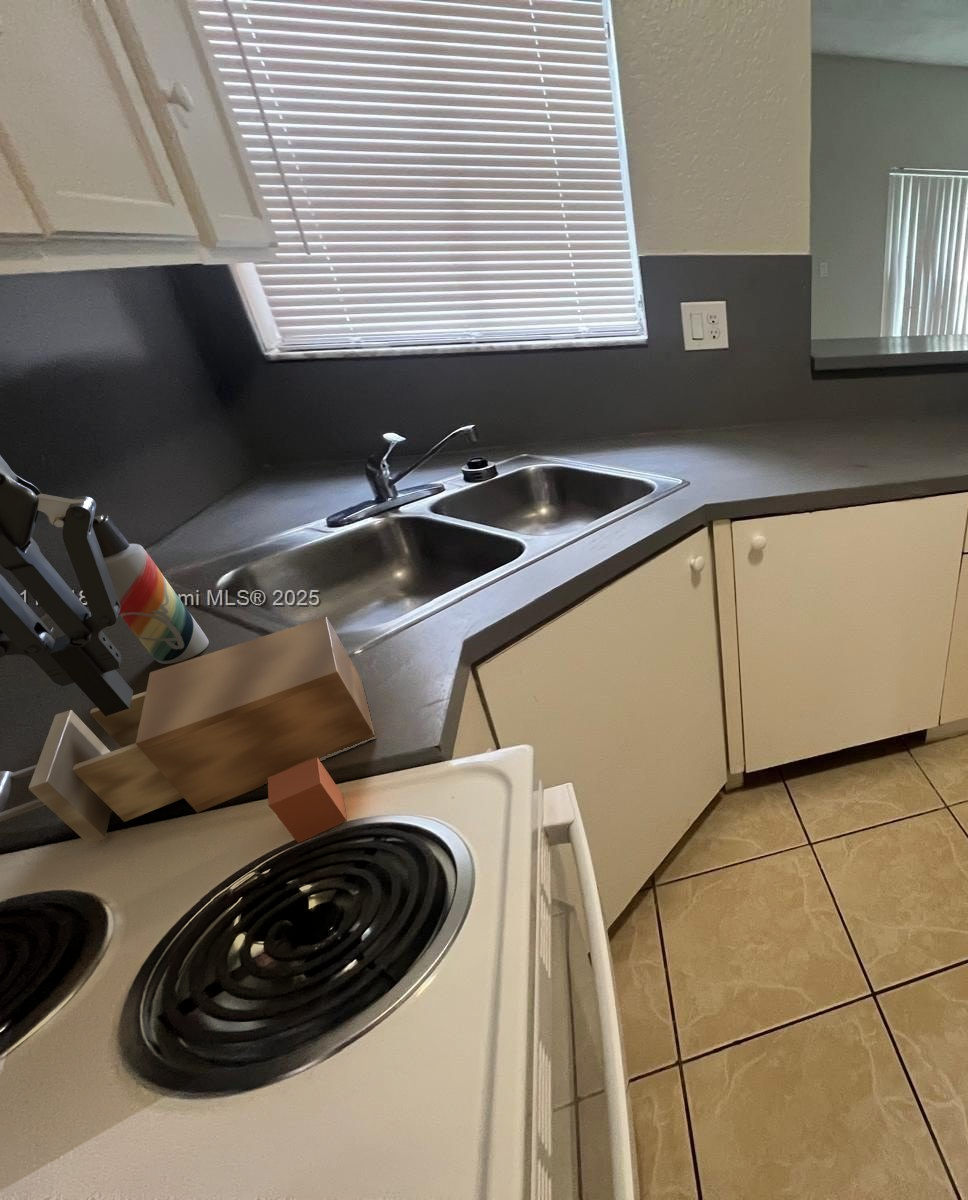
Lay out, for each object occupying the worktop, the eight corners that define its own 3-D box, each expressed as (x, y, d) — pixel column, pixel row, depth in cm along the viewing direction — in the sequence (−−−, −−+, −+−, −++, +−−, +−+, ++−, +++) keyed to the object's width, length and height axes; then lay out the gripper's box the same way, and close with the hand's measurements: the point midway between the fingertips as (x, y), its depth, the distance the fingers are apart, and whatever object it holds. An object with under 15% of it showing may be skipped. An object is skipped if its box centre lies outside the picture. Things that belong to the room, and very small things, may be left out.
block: (298, 843, 59) (268, 805, 56) (295, 815, 61) (267, 777, 58) (347, 820, 61) (320, 782, 57) (342, 794, 63) (317, 757, 60)
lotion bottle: (166, 670, 81) (59, 533, 70) (149, 656, 84) (43, 522, 73) (217, 646, 85) (123, 513, 74) (200, 634, 88) (107, 504, 77)
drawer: (0, 881, 55) (-72, 824, 51) (30, 797, 63) (-30, 742, 59) (277, 768, 65) (236, 713, 61) (273, 707, 73) (237, 655, 69)
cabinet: (197, 813, 62) (135, 743, 57) (202, 738, 71) (149, 672, 65) (376, 739, 70) (337, 671, 64) (362, 679, 78) (326, 615, 73)
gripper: (-333, 470, 34) (-3, 768, 47) (7, 416, 40) (215, 693, 53) (-257, 436, 39) (22, 713, 52) (35, 393, 45) (218, 651, 58)
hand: (119, 703), depth 52 cm, fingers closed
